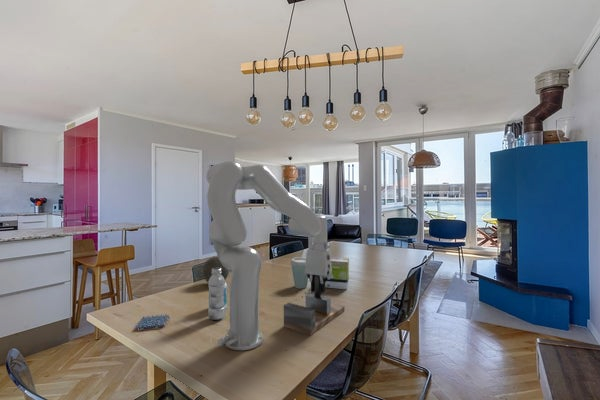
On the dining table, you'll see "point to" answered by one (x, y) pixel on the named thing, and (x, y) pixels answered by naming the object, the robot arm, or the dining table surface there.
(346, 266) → the tea box
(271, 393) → the dining table surface
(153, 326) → the woven mat
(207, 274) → the cantaloupe
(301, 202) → the robot arm
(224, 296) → the pill bottle
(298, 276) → the disposable coffee cup
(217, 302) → the plastic bottle
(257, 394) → the dining table surface
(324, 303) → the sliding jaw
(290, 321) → the press base
